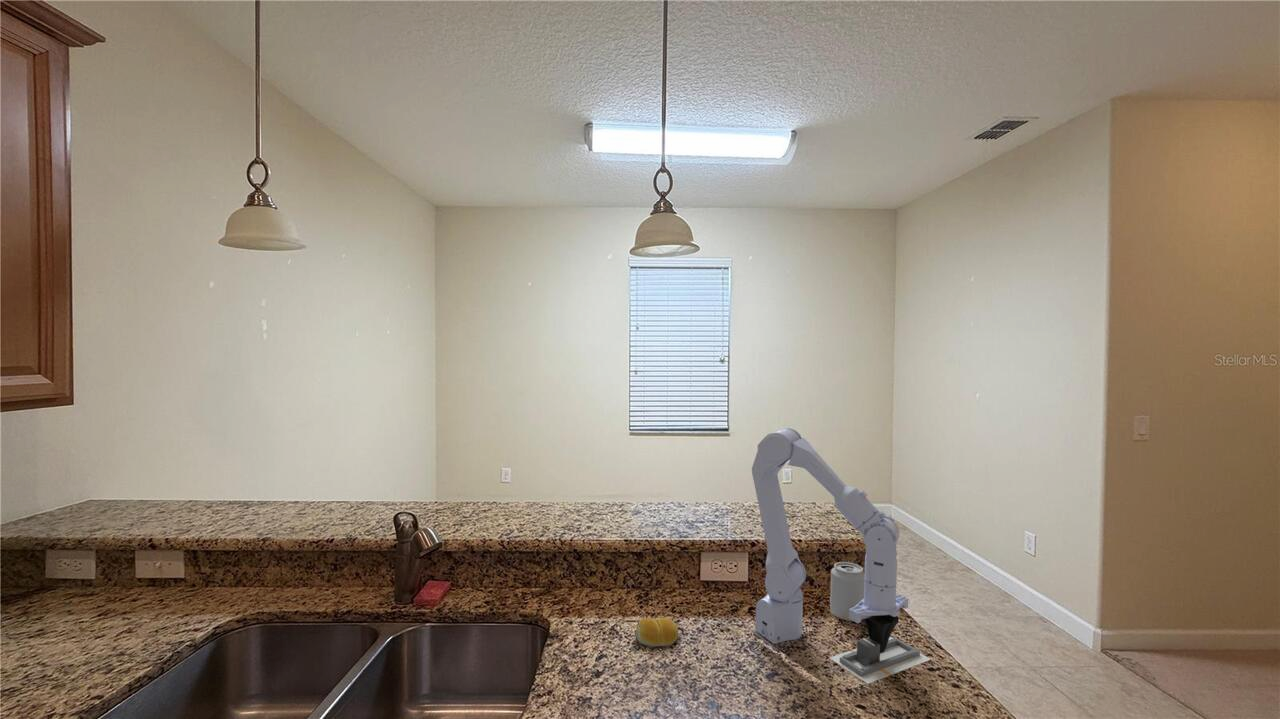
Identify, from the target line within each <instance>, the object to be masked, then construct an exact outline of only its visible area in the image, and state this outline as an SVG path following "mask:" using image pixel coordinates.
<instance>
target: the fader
mask: <svg viewBox="0 0 1280 719" xmlns="http://www.w3.org/2000/svg"><path fill="white" fill-rule="evenodd" d="M856 641H857V642H856V649H857V661H858V662H859V663H861V664H862V665H864V666H865V667H866V666H868V665H871V664H874V663H877V662H879V661H880V644H879V643H877V642H876V641H874V640H872V639H870V638H869V636H867V637H864V638H861V639H858V640H856Z"/></svg>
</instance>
